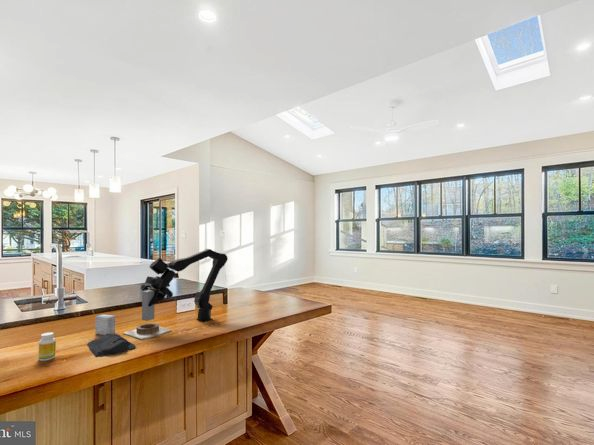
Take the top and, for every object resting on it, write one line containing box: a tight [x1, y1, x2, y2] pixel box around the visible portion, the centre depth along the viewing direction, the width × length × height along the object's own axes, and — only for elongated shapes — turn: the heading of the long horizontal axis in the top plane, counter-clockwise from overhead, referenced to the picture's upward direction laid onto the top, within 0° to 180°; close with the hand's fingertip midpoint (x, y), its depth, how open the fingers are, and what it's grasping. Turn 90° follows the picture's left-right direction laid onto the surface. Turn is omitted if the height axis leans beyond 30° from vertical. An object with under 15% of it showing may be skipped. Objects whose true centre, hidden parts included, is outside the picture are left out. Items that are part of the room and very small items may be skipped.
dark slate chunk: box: [86, 333, 136, 358], centre depth 142 cm, size 15×22×5 cm
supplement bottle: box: [37, 332, 57, 362], centre depth 128 cm, size 5×5×10 cm
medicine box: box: [94, 314, 116, 336], centre depth 159 cm, size 8×4×9 cm, turn 74°
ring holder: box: [122, 322, 173, 341], centre depth 161 cm, size 16×16×3 cm
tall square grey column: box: [141, 290, 156, 322], centre depth 161 cm, size 4×4×14 cm
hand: (145, 305), depth 160 cm, fingers closed on tall square grey column, 4 cm apart
